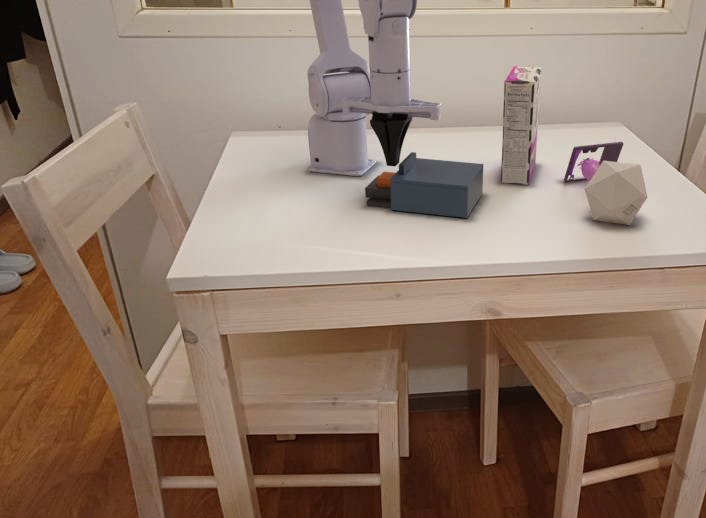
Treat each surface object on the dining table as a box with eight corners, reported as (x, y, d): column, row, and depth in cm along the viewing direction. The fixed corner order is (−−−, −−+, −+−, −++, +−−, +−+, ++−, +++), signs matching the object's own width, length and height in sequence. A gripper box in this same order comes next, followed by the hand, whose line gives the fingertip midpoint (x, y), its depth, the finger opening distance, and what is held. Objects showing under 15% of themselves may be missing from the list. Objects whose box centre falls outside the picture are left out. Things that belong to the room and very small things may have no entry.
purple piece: (620, 138, 117) (571, 143, 114) (635, 158, 114) (585, 163, 112) (608, 172, 122) (561, 178, 120) (622, 192, 119) (574, 198, 117)
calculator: (362, 206, 109) (361, 190, 108) (381, 187, 116) (380, 172, 115) (462, 217, 106) (463, 200, 105) (475, 197, 113) (476, 181, 112)
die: (613, 240, 101) (663, 183, 97) (565, 199, 102) (613, 141, 98) (618, 239, 109) (665, 186, 105) (574, 201, 110) (619, 147, 106)
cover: (391, 210, 107) (389, 168, 104) (411, 186, 116) (410, 147, 112) (467, 218, 105) (468, 175, 101) (482, 193, 113) (483, 154, 110)
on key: (377, 187, 110) (376, 178, 109) (383, 181, 113) (383, 171, 112) (397, 189, 109) (396, 180, 108) (403, 183, 112) (403, 173, 111)
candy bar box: (507, 163, 127) (512, 65, 118) (535, 165, 127) (543, 66, 118) (498, 184, 118) (503, 79, 109) (528, 186, 117) (536, 81, 108)
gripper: (331, 71, 100) (338, 167, 107) (431, 78, 97) (431, 176, 104) (349, 62, 106) (355, 154, 113) (444, 68, 103) (444, 162, 110)
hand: (393, 164), depth 109 cm, fingers closed
